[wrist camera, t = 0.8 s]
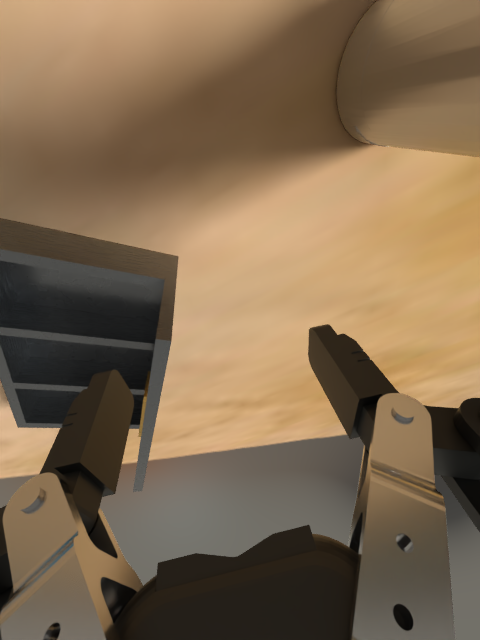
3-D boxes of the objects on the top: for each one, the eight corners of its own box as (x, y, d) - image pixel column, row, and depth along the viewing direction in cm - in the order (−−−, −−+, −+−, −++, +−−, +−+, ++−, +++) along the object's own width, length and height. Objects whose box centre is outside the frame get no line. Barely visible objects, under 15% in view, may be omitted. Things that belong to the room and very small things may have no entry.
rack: (-5, 217, 22) (-176, 301, 12) (178, 256, 27) (171, 341, 17) (38, 391, 36) (-24, 500, 26) (154, 396, 41) (141, 491, 31)
